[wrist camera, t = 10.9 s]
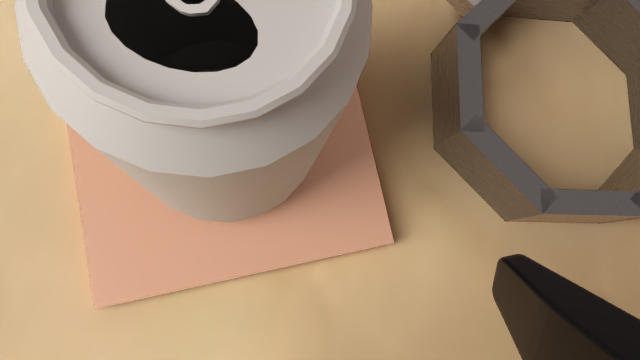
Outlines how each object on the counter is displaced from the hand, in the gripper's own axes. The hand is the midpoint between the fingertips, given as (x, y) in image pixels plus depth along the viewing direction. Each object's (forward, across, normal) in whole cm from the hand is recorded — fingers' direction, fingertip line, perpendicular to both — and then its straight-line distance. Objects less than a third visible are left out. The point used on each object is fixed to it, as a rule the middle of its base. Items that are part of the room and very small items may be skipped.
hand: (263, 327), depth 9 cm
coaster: (+14, 0, +4) cm, 14 cm away
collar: (+13, -15, +5) cm, 20 cm away
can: (+13, 0, +3) cm, 13 cm away
